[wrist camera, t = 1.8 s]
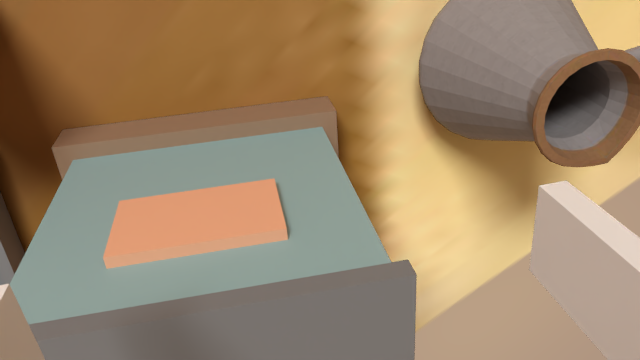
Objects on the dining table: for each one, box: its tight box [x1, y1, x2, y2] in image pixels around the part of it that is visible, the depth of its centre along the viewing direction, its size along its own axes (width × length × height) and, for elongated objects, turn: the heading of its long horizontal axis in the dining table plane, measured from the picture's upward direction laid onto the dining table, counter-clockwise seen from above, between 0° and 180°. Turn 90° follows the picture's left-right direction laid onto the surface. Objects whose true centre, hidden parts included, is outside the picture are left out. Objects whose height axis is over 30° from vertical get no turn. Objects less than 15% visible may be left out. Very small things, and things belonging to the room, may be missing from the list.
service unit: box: [9, 96, 416, 360], centre depth 31 cm, size 12×18×20 cm, turn 93°
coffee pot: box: [419, 0, 640, 167], centre depth 32 cm, size 21×12×15 cm, turn 118°
